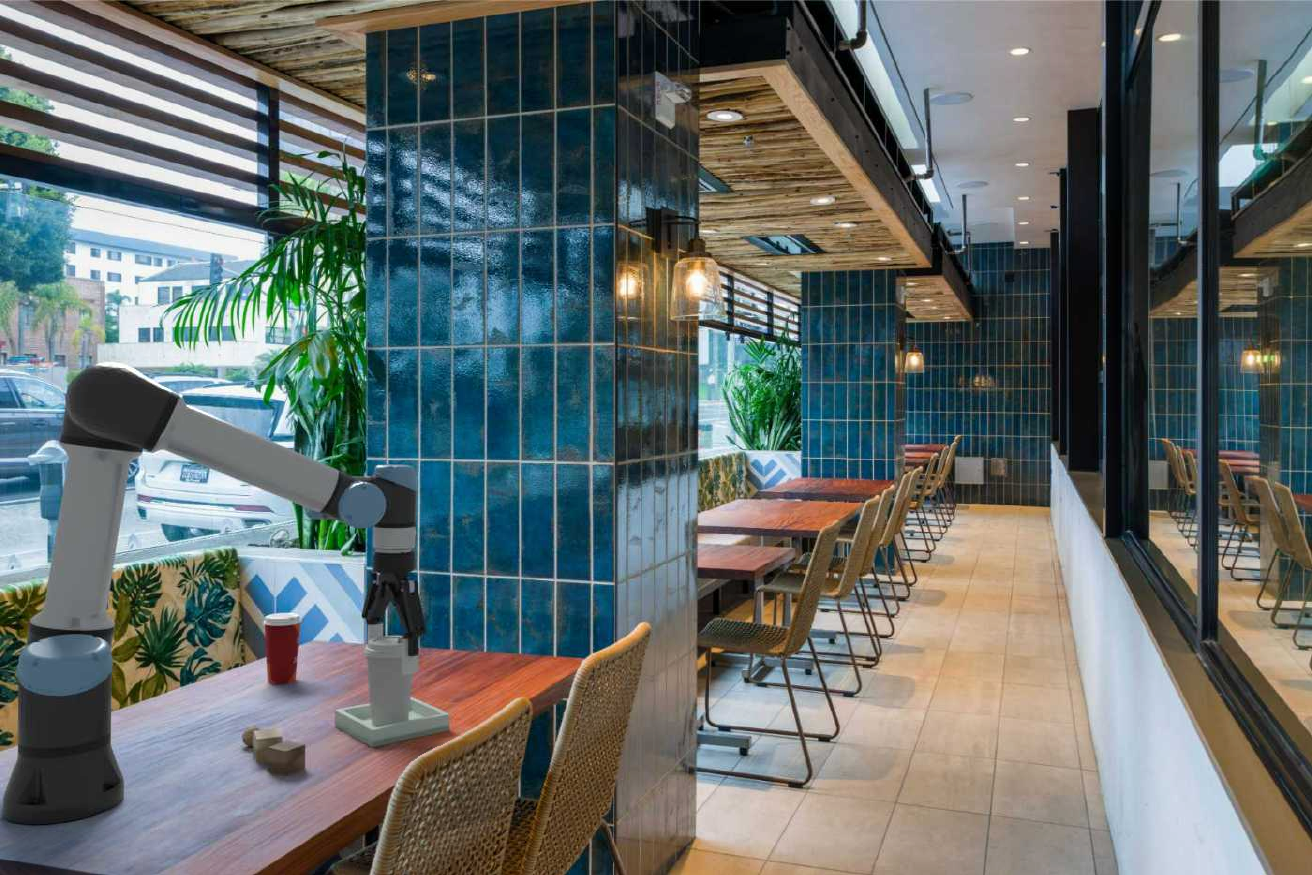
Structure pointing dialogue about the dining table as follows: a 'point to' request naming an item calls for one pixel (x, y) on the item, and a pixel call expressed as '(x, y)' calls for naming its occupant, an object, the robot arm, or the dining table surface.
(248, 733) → the cork ball
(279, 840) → the dining table surface
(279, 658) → the paper cup
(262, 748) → the beech block
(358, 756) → the dining table surface
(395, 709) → the coffee cup
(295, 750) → the walnut block
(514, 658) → the dining table surface
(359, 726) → the tray
